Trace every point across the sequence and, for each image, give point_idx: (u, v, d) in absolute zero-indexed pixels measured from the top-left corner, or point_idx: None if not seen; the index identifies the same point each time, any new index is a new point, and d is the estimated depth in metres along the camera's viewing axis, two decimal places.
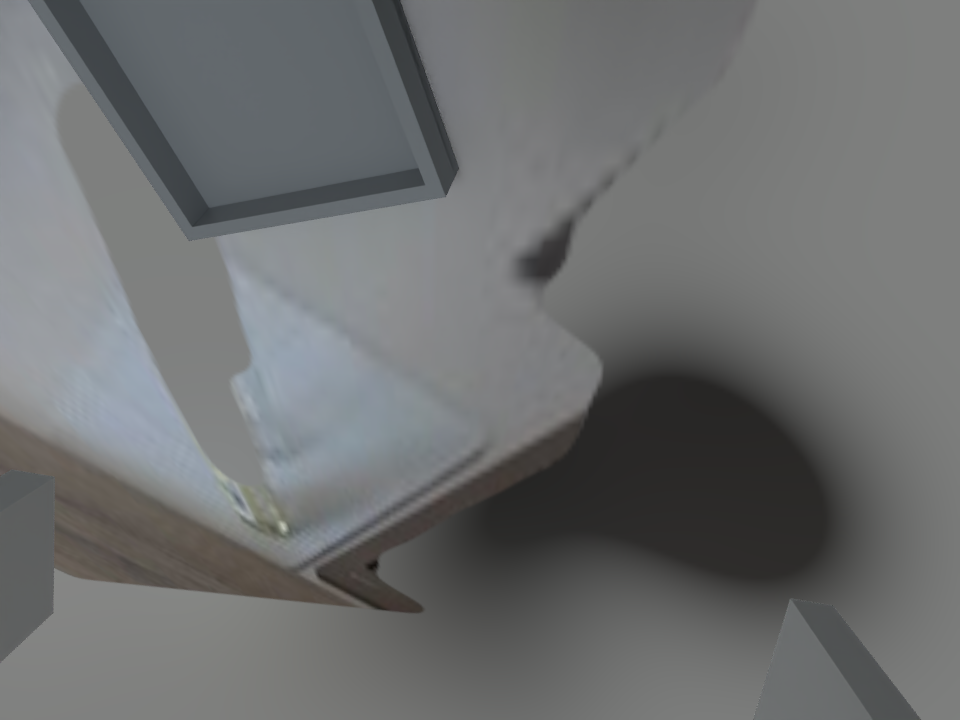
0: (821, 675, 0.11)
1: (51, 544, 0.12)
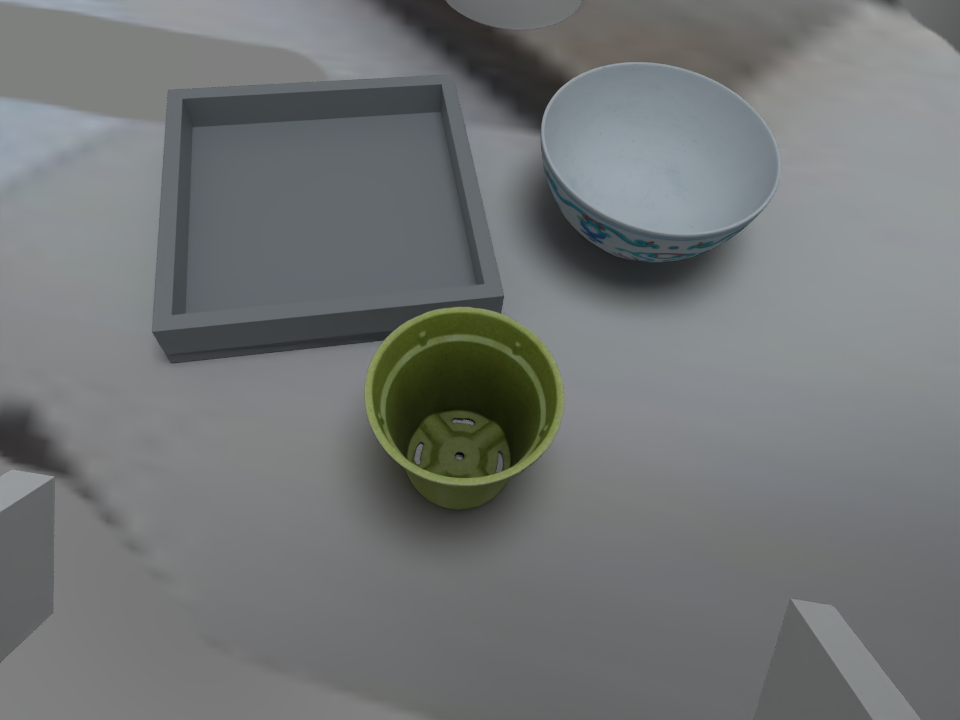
0: (821, 675, 0.11)
1: (51, 544, 0.12)
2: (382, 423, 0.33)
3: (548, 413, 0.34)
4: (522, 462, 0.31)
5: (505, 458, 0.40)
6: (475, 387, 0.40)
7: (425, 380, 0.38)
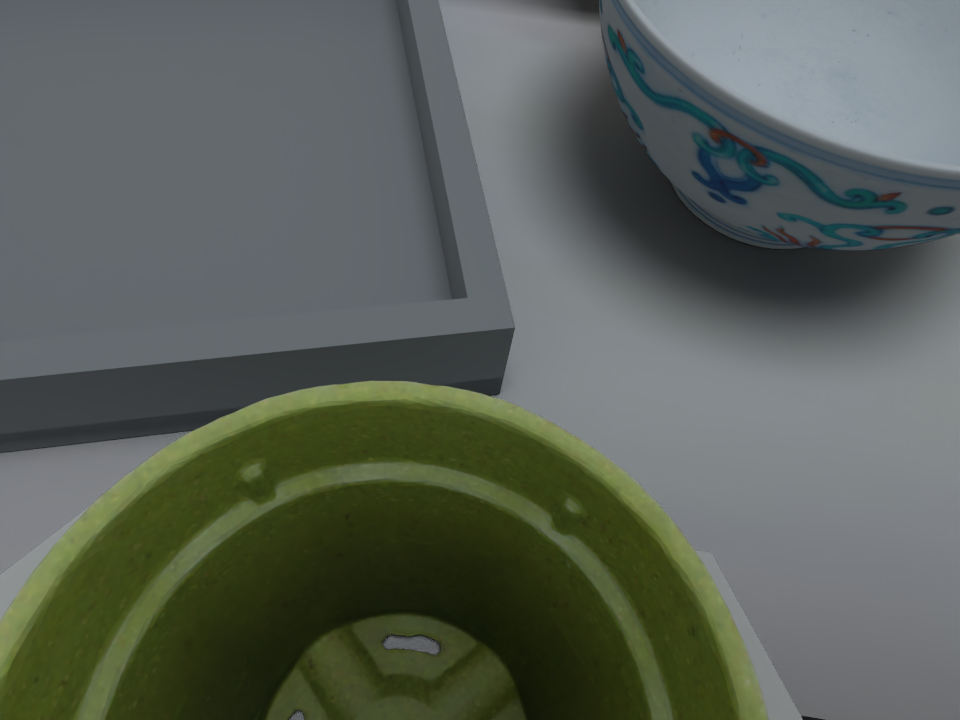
0: None
1: None
2: None
3: None
4: None
5: None
6: (439, 579, 0.15)
7: (293, 578, 0.13)
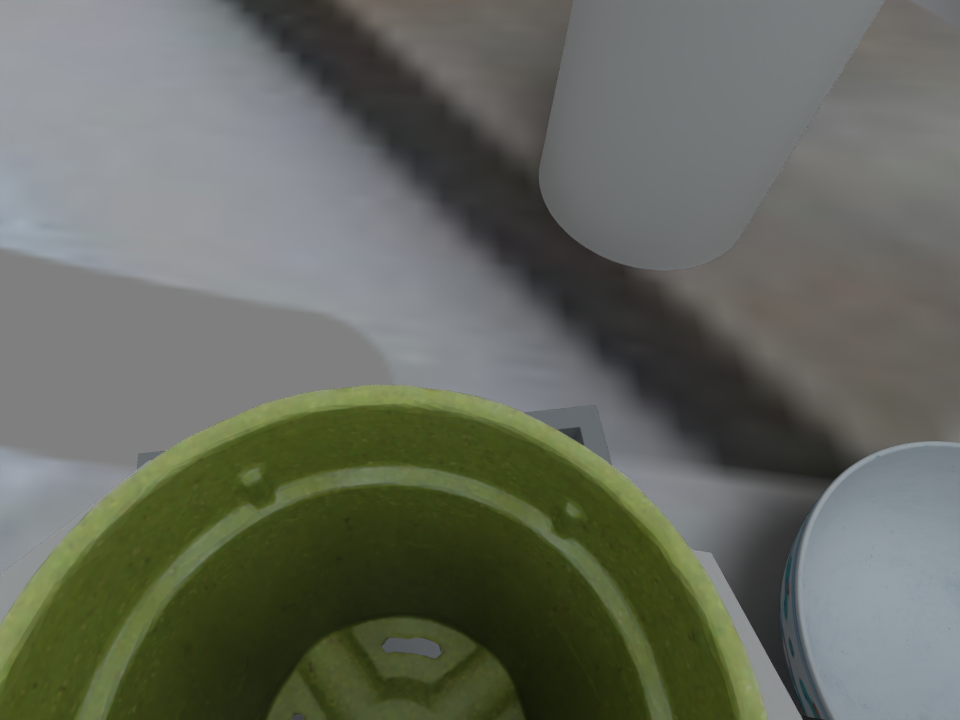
0: None
1: None
2: None
3: None
4: None
5: None
6: (439, 582, 0.15)
7: (292, 581, 0.13)
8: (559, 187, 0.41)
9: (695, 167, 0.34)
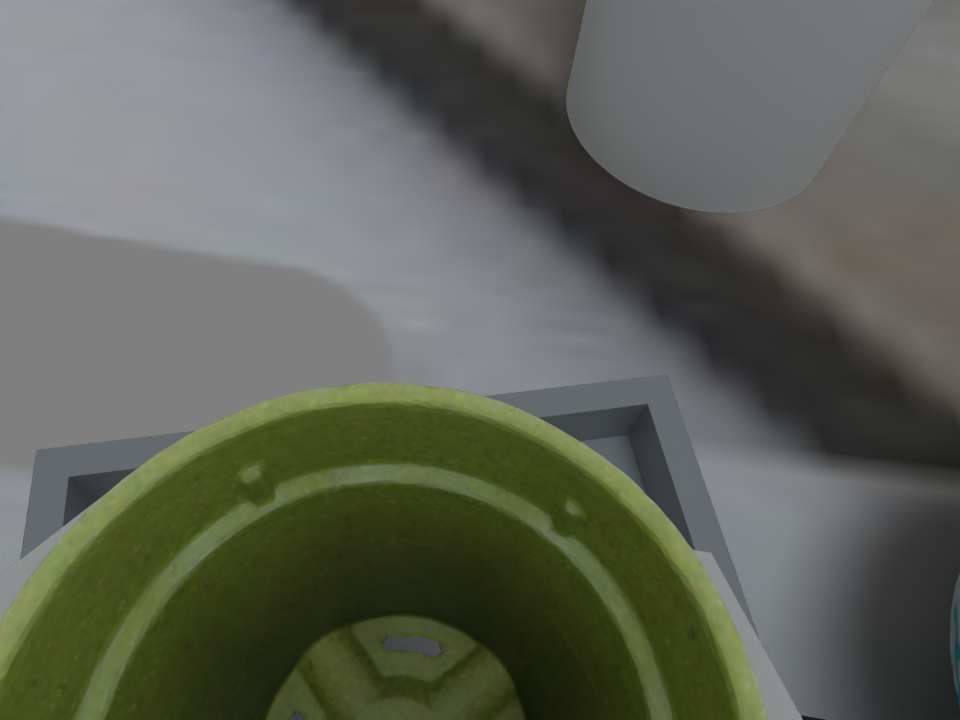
0: None
1: None
2: None
3: None
4: None
5: None
6: (439, 580, 0.15)
7: (292, 579, 0.13)
8: (596, 109, 0.32)
9: (787, 61, 0.26)
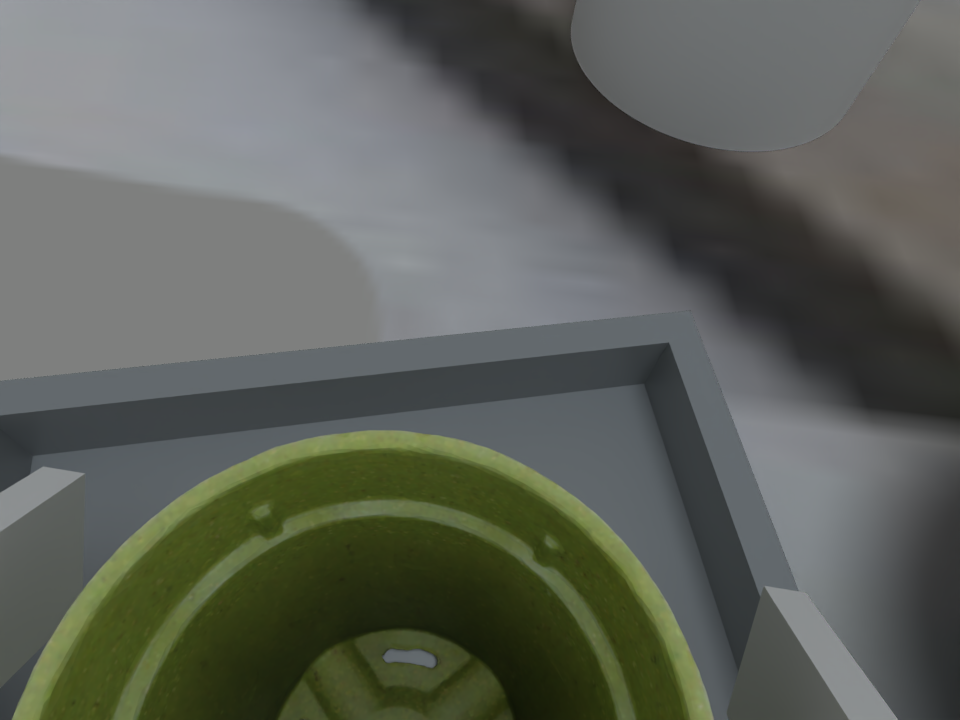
0: (791, 658, 0.11)
1: (80, 540, 0.13)
2: None
3: None
4: None
5: None
6: (435, 599, 0.16)
7: (299, 601, 0.14)
8: (605, 35, 0.29)
9: None
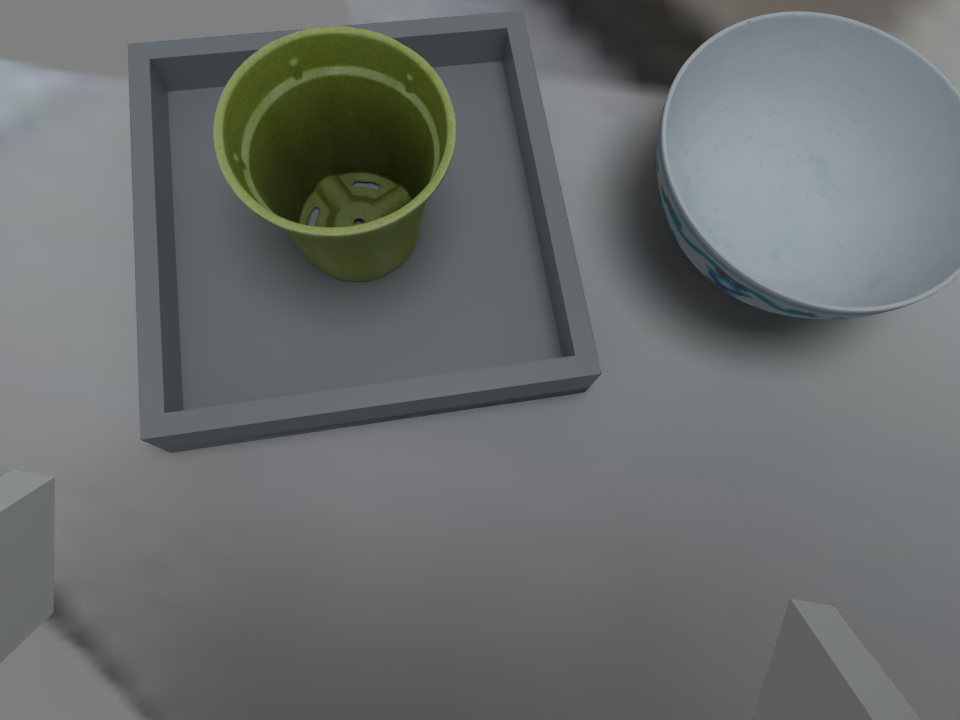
0: (821, 675, 0.11)
1: (51, 544, 0.12)
2: (242, 167, 0.28)
3: (439, 159, 0.29)
4: (397, 211, 0.27)
5: None
6: (374, 141, 0.34)
7: (311, 128, 0.32)
8: None
9: None
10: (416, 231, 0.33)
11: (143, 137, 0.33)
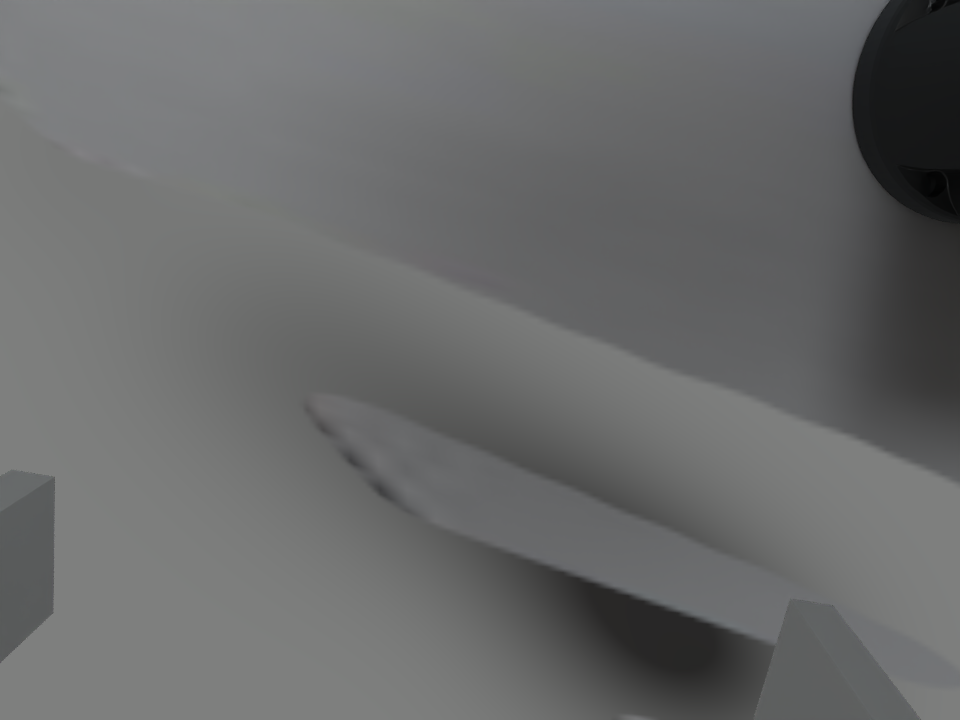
0: (821, 675, 0.11)
1: (51, 544, 0.12)
2: None
3: None
4: None
5: None
6: None
7: None
8: None
9: None
10: None
11: None
